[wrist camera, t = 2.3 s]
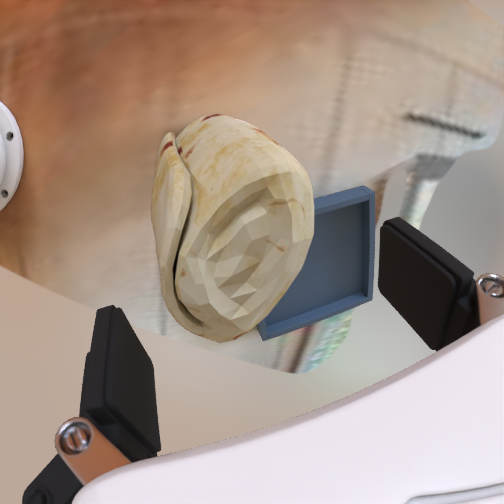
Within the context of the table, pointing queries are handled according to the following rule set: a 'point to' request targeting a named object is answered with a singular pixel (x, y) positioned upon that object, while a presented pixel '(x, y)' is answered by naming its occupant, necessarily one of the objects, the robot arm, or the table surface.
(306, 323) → the serving tray
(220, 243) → the food model
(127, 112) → the table surface
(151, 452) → the robot arm
